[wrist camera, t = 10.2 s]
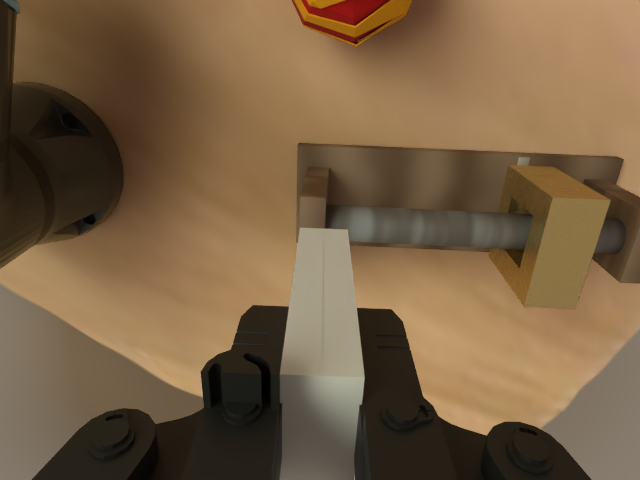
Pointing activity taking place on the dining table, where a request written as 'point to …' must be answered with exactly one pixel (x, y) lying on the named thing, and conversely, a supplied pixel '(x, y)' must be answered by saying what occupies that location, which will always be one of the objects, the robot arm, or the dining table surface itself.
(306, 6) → the potion bottle
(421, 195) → the pipe rig
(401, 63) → the dining table surface
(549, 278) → the collar
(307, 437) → the robot arm
